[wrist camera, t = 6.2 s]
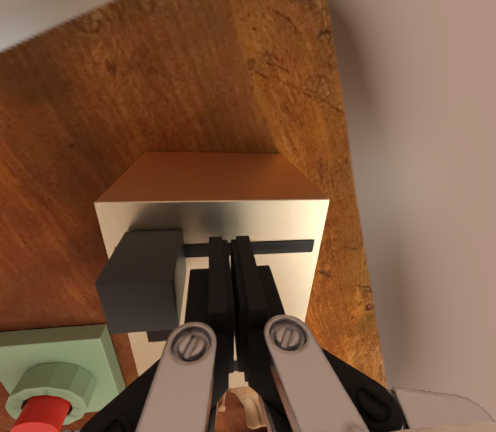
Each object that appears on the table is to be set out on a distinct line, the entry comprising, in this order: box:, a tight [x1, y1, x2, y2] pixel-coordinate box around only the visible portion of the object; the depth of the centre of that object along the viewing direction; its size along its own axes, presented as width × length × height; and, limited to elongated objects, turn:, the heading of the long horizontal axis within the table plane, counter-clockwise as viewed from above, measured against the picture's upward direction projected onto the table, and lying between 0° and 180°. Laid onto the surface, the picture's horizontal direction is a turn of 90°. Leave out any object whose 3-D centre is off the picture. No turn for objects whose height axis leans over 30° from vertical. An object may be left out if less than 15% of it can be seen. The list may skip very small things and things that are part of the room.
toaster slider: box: [95, 230, 186, 334], centre depth 10 cm, size 2×2×3 cm
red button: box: [10, 395, 71, 432], centre depth 23 cm, size 4×4×2 cm
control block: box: [0, 324, 126, 425], centre depth 25 cm, size 10×12×4 cm
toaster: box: [94, 152, 330, 389], centre depth 18 cm, size 10×14×9 cm
